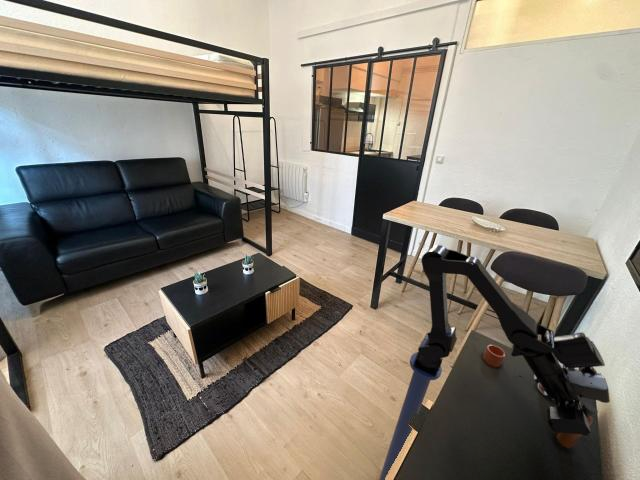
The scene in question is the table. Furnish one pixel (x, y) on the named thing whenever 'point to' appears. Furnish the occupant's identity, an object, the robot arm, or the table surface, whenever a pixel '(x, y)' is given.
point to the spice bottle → (571, 439)
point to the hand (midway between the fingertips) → (585, 429)
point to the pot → (493, 355)
